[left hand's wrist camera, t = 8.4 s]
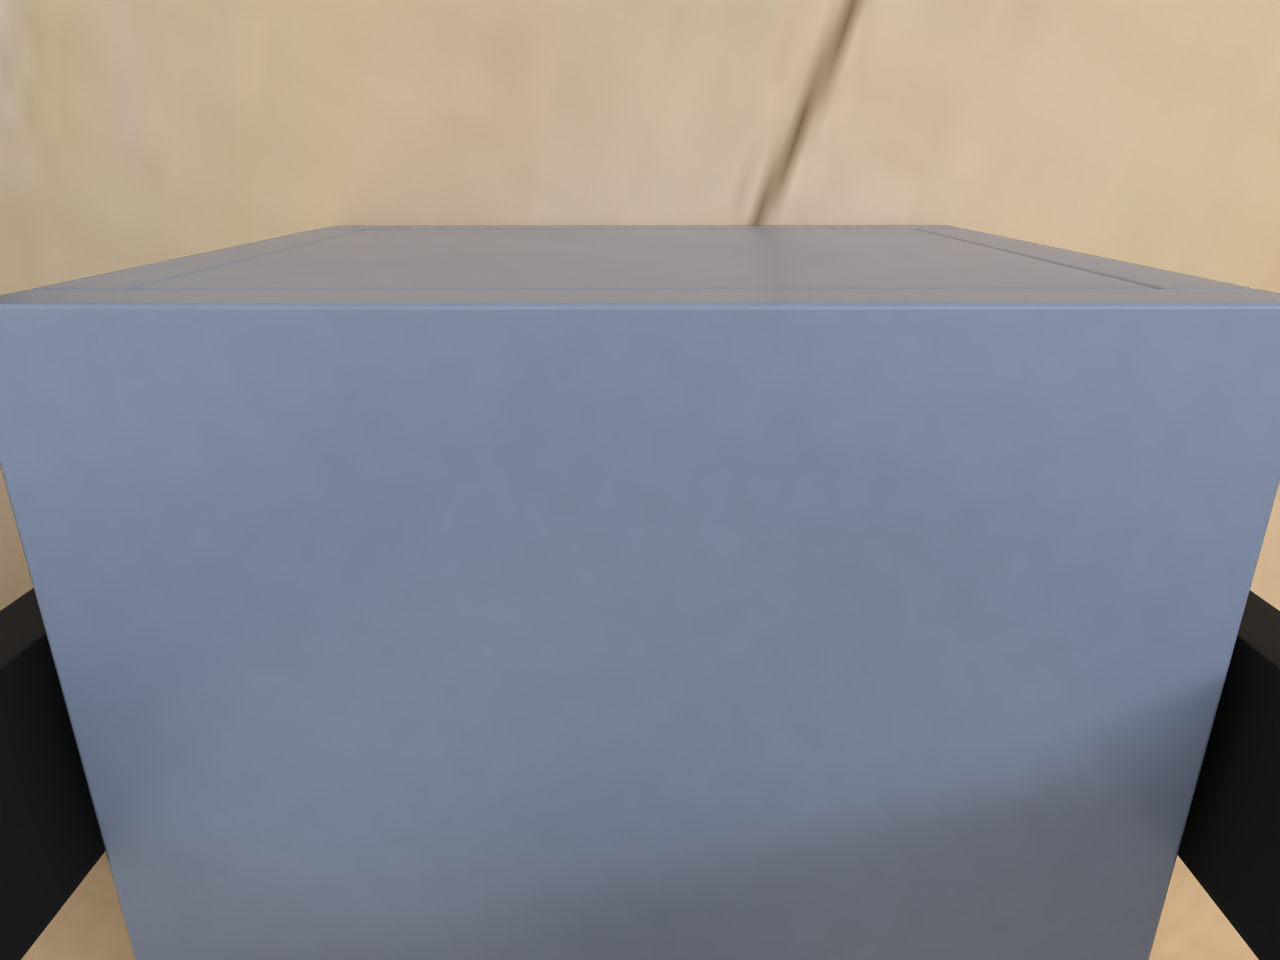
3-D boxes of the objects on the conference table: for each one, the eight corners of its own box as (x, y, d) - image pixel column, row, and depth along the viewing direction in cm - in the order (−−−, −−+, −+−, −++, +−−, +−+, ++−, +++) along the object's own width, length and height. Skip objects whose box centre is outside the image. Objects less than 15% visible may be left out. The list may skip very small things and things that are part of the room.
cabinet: (865, 934, 21) (1016, 1449, 13) (416, 935, 21) (268, 1450, 13) (950, 225, 15) (1330, 303, 7) (331, 225, 15) (-47, 304, 7)
